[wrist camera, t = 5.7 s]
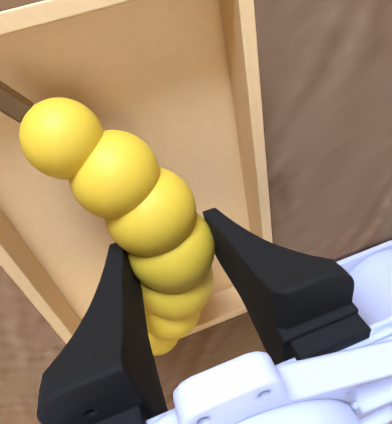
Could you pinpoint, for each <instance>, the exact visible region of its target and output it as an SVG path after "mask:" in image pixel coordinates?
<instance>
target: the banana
mask: <svg viewBox="0 0 392 424" xmlns="http://www.w3.org/2000/svg"><path fill="white" fill-rule="evenodd" d="M0 111H1V112H2V113H4V114H6V115H7V116H9V117H11V118H12V119H14V120H15V121H17V122H19V123H21V125H20V130H19V140H20V145H21V148H22V151H23V153H24V155H25V157H26V158H27V160H28V161H29V162H30V163H31V165H32V166H33V167H35V168H36V169H37V170H38V171H40V172H42V173H43V174H45V175H48V176H50V177H53V178H57V179H69V185H70V188H71V191H72V193H73V195H74V197H75V198H76V200H77V201H78V202H79V203H80V205H81V206H82V207H83V208H84V209H86V210H87V211H89V212H90V213H92V214H94V215H95V216H98V217H100V218H104V219H105V223H106V227H107V229H108V231H109V233H110V235H111V237H112V238H113V240H114V241H115V242H116V243H117V244H118V245H119V246H120V247H121V248H123V249H124V250H126V251H127V255H128V259H129V262H130V265H131V268H132V270H133V272H134V274H135V276H136V277H137V278H138V279H139V280H140V284H141V287H142V294H143V301H144V308H145V316H146V323H147V330H148V336H149V340H150V345H151V349H152V353H153V356H157V355H163V354H165V353H167V352H169V351H170V350H171V349H172V348H173V347H174V346H175V345H176V344H177V342H178V340H179V339H180V338H182V337H184V336H186V335H187V334H189V333H190V332H191V331H192V330H193V329H194V327H195V326H196V324H197V323H198V320H199V318H200V314H201V309H202V308H203V307H204V306H205V305H206V304H207V302H208V301H209V299H210V297H211V294H212V291H213V286H214V275H213V270H212V267H211V266H212V263H213V260H214V255H215V242H214V238H213V235H212V233H211V230H210V228H209V226H208V224H207V222H206V221H205V220H204V219H203V218H202V217H201V216H200V215H199V214H198V213H197V211H196V203H195V199H194V196H193V193H192V191H191V189H190V188H189V186H188V185H187V184H186V182H185V181H184V180H183V179H182V178H181V177H180V176H178V175H177V174H176V173H174V172H172V171H170V170H168V169H165V168H162V167H159V164H158V161H157V158H156V156H155V154H154V152H153V151H152V150H151V148H150V147H149V146H148V145H147V144H146V143H145V142H144V141H143V140H142V139H140V138H139V137H137V136H135V135H134V134H131V133H129V132H125V131H120V130H105V131H104V130H103V127H102V125H101V122H100V121H99V119H98V118H97V116H96V115H95V114H94V113H93V112H92V111H91V110H90V109H89V108H88V107H86V106H85V105H83V104H82V103H80V102H78V101H75V100H72V99H69V98H61V97H56V98H49V99H46V100H43V101H40V102H38V103H37V104H35V105H34V106H33V102H32V101H30V100H29V99H27V98H26V97H24V96H23V95H21V94H20V93H18V92H17V91H15V90H14V89H12V88H11V87H9V86H8V85H6V84H5V83H3V82H2V81H0Z"/></svg>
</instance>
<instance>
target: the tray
mask: <svg viewBox="0 0 392 424" xmlns="http://www.w3.org/2000/svg"><path fill="white" fill-rule="evenodd" d="M0 81H2V82H3V83H5V84H6V85H8V86H9V87H11V88H12V89H14V90H15V91H17V92H18V93H20V94H21V95H23V96H24V97H26V98H27V99H29V100H30V101H32V102H33V106H34V105H35V104H37V103H38V102H40V101H43V100H46V99H49V98H56V97H61V98H69V99H72V100H75V101H78V102H80V103H82V104H83V105H85V106H86V107H88V108H89V109H90V110H91V111H92V112H93V113H94V114H95V115H96V116H97V118H98V119H99V121H100V122H101V125H102V127H103V130H104V131H105V130H120V131H125V132H129V133H131V134H134V135H135V136H137V137H139V138H140V139H142V140H143V141H144V142H145V143H146V144H147V145H148V146H149V147H150V148H151V150H152V151H153V152H154V154H155V156H156V158H157V161H158V164H159V167H162V168H165V169H168V170H170V171H172V172H174V173H176V174H177V175H178V176H180V177H181V178H182V179H183V180H184V181H185V182H186V184H187V185H188V186H189V188H190V189H191V191H192V193H193V196H194V199H195V203H196V211H197V213H198V214H199V215H200V216H201V217H202V218H203V219H204V216H203V211H206V210H209V209H212V208H216V209H218V210H219V211H220V212H222V213H223V214H224V215H225V216H227V217H228V218H230V219H231V220H232V221H234V222H235V223H237V224H238V225H240V226H241V227H243V228H244V229H246V230H248V231H249V232H251V233H253V234H255V235H257V236H258V237H260V238H262V239H264V240H266V241H269V242H271V243H273V241H272V229H271V216H270V203H269V190H268V177H267V165H266V152H265V139H264V126H263V113H262V100H261V88H260V75H259V62H258V49H257V36H256V24H255V11H254V0H44V1H40V2H36V3H32V4H29V5H25V6H21V7H17V8H13V9H9V10H5V11H1V12H0ZM20 125H21V123H19V122H17V121H15V120H14V119H12V118H11V117H9V116H7V115H6V114H4V113H2V112H1V111H0V265H1V266H2V267H3V268H4V270H5V271H6V272H7V273H8V275H9V276H10V277H11V278H12V279H13V281H14V282H15V283H16V284H17V285H18V287H19V288H20V289H21V290H22V291H23V293H24V294H25V295H26V296H27V297H28V299H29V300H30V301H31V302H32V303H33V305H34V306H35V307H36V308H37V309H38V311H39V312H40V313H41V314H42V315H43V317H44V318H45V319H46V320H47V321H48V323H49V324H50V325H51V326H52V327H53V329H54V330H55V331H56V332H57V333H58V335H59V336H60V337H61V338H62V339H63V341H64V342H65V343H66V344H67V343H68V342H69V340H70V339H71V337H72V336H73V334H74V333H75V331H76V329H77V328H78V326H79V324H80V323H81V321H82V319H83V317H84V315H85V314H86V312H87V310H88V308H89V306H90V303H91V301H92V299H93V297H94V294H95V292H96V289H97V287H98V284H99V281H100V278H101V275H102V272H103V269H104V265H105V262H106V258H107V253H108V248H109V246H110V244H113V243H115V241H114V240H113V238H112V237H111V235H110V233H109V231H108V229H107V227H106V223H105V219H104V218H100V217H98V216H95V215H94V214H92V213H90V212H89V211H87V210H86V209H84V208H83V207H82V206H81V205H80V203H79V202H78V201H77V200H76V198H75V197H74V195H73V193H72V191H71V188H70V185H69V179H57V178H53V177H50V176H48V175H45V174H43V173H42V172H40V171H38V170H37V169H36V168H35V167H33V166H32V165H31V163H30V162H29V161H28V160H27V158H26V157H25V155H24V153H23V151H22V148H21V145H20V140H19V130H20ZM211 267H212V270H213V275H214V286H213V291H212V294H211V297H210V299H209V301H208V302H207V304H206V305H205V306H204V307H203V308H202V309H201V314H200V318H199V320H198V323H197V324H196V326H195V327H194V329H193V330H192V331H191V332H190V333H189V334H187V335H186V336H188V335H190V334H193V333H195V332H198V331H200V330H203V329H205V328H208V327H210V326H213V325H215V324H218V323H220V322H223V321H225V320H228V319H230V318H233V317H235V316H238V315H240V314H243V313H245V312H248V311H247V309H246V307H245V305H244V303H243V301H242V299H241V297H240V295H239V294H238V292H237V290H236V289H235V287H234V286H233V284H232V282H231V281H230V279H229V278H228V276H227V274H226V273H225V271H224V269H223V268H222V266H221V265H220V263H219V261H218V259H217V257H216V255H214V260H213V263H212V266H211ZM184 337H185V336H184ZM182 338H183V337H182Z"/></svg>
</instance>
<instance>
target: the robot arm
mask: <svg viewBox="0 0 392 424" xmlns="http://www.w3.org/2000/svg"><path fill="white" fill-rule="evenodd" d="M203 216H204V220H205V221H206V222H207V224H208V226H209V228H210V230H211V233H212V235H213V238H214V242H215V255H216V257H217V259H218V261H219V263H220V265H221V266H222V268H223V269H224V271H225V273H226V274H227V276H228V278H229V279H230V281H231V282H232V284H233V286H234V287H235V289H236V290H237V292H238V294H239V295H240V297H241V299H242V301H243V303H244V305H245V307H246V309H247V311H248V313H249V315H250V317H251V319H252V322H253V324H254V326H255V328H256V330H257V332H258V334H259V337H260V339H261V341H262V343H263V345H264V348H265V350H266V352H267V353H265V352H259V351H255V352H251V353H247V354H244V355H241V356H239V357H237V358H234V359H232V360H229V361H227V362H224V363H222V364H220V365H217V366H215V367H212V368H210V369H208V370H205V371H203V372H200V373H198V374H196V375H193V376H191V377H189V378H188V379H186V380H184V381H183V382H181V383H180V384H179V386H178V387H177V388H176V389H175V390H174V392H173V401H174V406H175V408H174V409H172V410H169V411H168V410H167V406H166V403H165V399H164V395H163V392H162V388H161V384H160V380H159V377H158V373H157V369H156V365H155V361H154V357H153V353H152V349H151V345H150V340H149V336H148V330H147V323H146V316H145V308H144V301H143V294H142V287H141V284H140V280H139V279H138V278H137V277H136V276H135V274H134V272H133V270H132V268H131V265H130V262H129V259H128V255H127V251H126V250H124V249H123V248H121V247H120V246H119V245H118V244H117V243H116V242H115V243H113V244H110V246H109V248H108V253H107V258H106V262H105V265H104V269H103V272H102V275H101V278H100V281H99V284H98V287H97V289H96V292H95V294H94V297H93V299H92V301H91V303H90V306H89V308H88V310H87V312H86V314H85V315H84V317H83V319H82V321H81V323H80V324H79V326H78V328H77V329H76V331H75V333H74V334H73V336H72V337H71V339H70V340H69V342H68V343H67V344H66V346H65V347H64V349H63V350H62V351H61V353H60V354H59V355H58V356H57V358H56V359H55V360H54V361H53V362H52V364H51V365H50V366H49V367H48V368H47V370H46V371H45V372H44V373H43V376H42V381H41V385H40V390H39V398H38V408H37V417H38V420H39V421H40V423H41V424H388V423H390V422H392V240H390V241H388V242H385V243H383V244H380V245H377V246H375V247H372V248H370V249H367V250H365V251H362V252H360V253H357V254H355V255H352V256H349V257H347V258H344V259H342V260H339V261H337V262H335V261H334V260H333V259H327V258H322V257H316V256H311V255H307V254H303V253H299V252H296V251H293V250H290V249H287V248H284V247H281V246H278V245H276V244H273V243H271V242H269V241H266V240H264V239H262V238H260V237H258V236H257V235H255V234H253V233H251V232H249V231H248V230H246V229H244V228H243V227H241V226H240V225H238V224H237V223H235V222H234V221H232V220H231V219H230V218H228V217H227V216H225V215H224V214H223V213H222V212H220V211H219V210H218V209H216V208H212V209H209V210H206V211H203Z"/></svg>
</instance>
